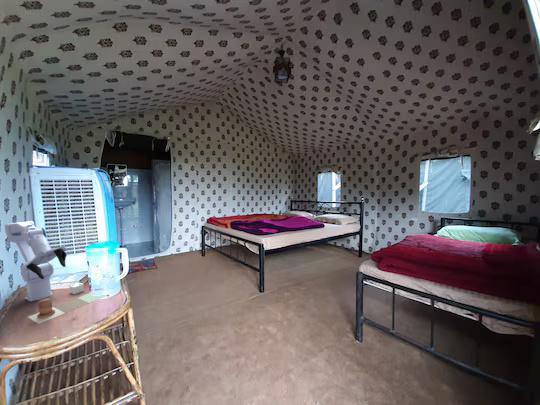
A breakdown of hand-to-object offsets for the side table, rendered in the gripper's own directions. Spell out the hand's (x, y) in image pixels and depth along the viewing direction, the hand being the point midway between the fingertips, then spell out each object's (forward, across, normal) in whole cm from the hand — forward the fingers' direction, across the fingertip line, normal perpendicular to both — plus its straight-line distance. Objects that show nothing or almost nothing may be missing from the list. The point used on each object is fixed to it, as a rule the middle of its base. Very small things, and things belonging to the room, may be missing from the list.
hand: (52, 271), depth 100 cm
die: (-2, -1, +24) cm, 24 cm away
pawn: (+10, -10, +10) cm, 17 cm away
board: (+9, -3, +15) cm, 18 cm away
